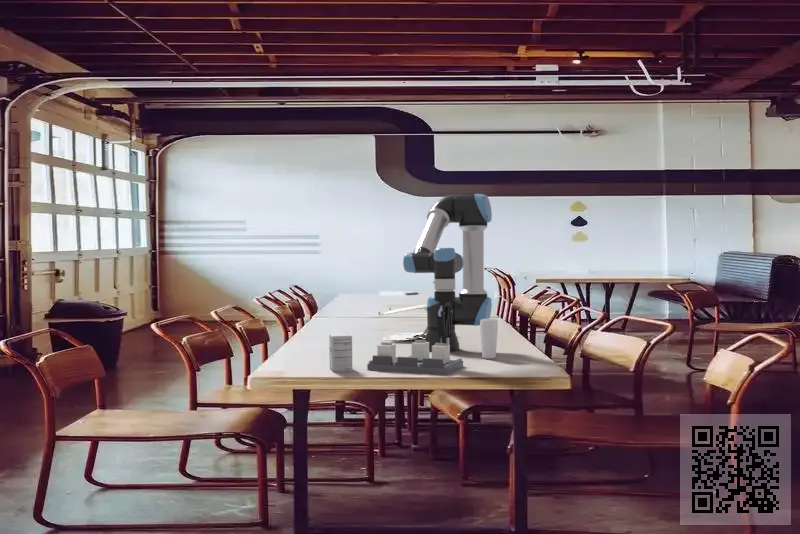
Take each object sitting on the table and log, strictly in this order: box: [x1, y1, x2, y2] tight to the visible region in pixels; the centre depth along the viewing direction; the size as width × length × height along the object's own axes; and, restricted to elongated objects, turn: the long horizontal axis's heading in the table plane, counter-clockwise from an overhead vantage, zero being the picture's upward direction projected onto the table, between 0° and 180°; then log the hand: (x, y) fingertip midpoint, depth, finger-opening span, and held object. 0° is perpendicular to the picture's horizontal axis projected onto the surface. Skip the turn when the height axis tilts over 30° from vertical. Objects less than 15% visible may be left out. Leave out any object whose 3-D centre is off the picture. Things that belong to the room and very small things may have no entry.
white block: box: [376, 341, 397, 362], centre depth 269 cm, size 5×5×7 cm
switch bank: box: [366, 355, 464, 376], centre depth 270 cm, size 18×30×5 cm, turn 68°
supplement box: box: [328, 332, 353, 373], centre depth 268 cm, size 7×7×13 cm
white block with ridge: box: [411, 339, 430, 360], centre depth 274 cm, size 5×5×7 cm
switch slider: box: [431, 343, 451, 364], centre depth 266 cm, size 5×5×7 cm
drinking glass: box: [479, 318, 499, 360], centre depth 290 cm, size 7×7×15 cm
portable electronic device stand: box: [378, 303, 427, 341], centre depth 354 cm, size 26×24×16 cm
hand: (445, 355), depth 271 cm, fingers closed
